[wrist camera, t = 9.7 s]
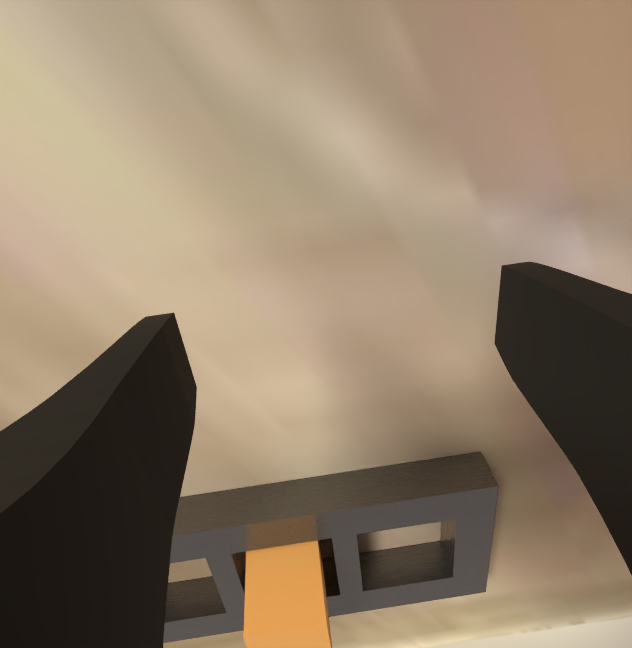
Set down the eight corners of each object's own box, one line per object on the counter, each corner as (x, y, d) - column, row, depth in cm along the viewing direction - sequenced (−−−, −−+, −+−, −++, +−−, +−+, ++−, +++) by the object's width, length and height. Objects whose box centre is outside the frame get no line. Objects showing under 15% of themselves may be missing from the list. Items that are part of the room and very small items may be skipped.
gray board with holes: (480, 451, 29) (498, 486, 26) (471, 556, 34) (485, 591, 32) (64, 515, 28) (47, 555, 26) (120, 610, 33) (110, 651, 31)
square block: (313, 504, 30) (326, 624, 24) (320, 545, 32) (334, 665, 26) (247, 514, 29) (243, 637, 24) (258, 554, 32) (257, 678, 26)
